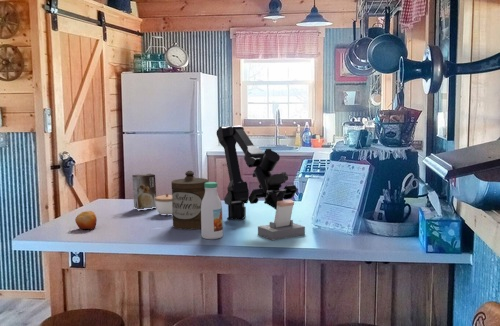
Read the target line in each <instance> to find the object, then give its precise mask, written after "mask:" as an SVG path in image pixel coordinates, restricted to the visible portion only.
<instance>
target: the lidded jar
mask: <svg viewBox="0 0 500 326" xmlns="http://www.w3.org/2000/svg"><path fill="white" fill-rule="evenodd" d="M155 205H156V209H155V210H157V212H158V213H159V214H160V215H161V214H166V215H168V214H172V194H169V193H167V192H166V193H165V194H163V195H156V197H155Z"/></svg>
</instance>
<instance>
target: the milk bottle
mask: <svg viewBox="0 0 500 326" xmlns="http://www.w3.org/2000/svg"><path fill="white" fill-rule="evenodd" d="M204 186H205V195H204V197H203V200H202V203H201V229H200V230H201V238H203V239H206V240H217V239H221V238H223V235H224V230H223V228H224V227H223V226H224V223H223V222H224V221H223V205H222V200H221V199H220V196H219V194H218V182H215V181H208V182H206V183H205V184H204Z"/></svg>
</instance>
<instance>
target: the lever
mask: <svg viewBox="0 0 500 326" xmlns="http://www.w3.org/2000/svg"><path fill="white" fill-rule="evenodd" d="M294 205H295V201H293V200H292V199H283V201H277V208H276V209H275V215H274V221H273V223H275V228H276V227H282V226H288V225H290V220H292V214H293V209H294Z"/></svg>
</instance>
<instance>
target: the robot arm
mask: <svg viewBox="0 0 500 326" xmlns="http://www.w3.org/2000/svg"><path fill="white" fill-rule="evenodd" d="M216 136H217V140H218V143H219V144H220V145H221V146H222V148H223V151H224V155H225V160H226V166H227V171H228V172H227V173H228V178H229V182H228V185H227V193H226V195H225V197H224V198H223V199H224V204H225V205H227V212H228V216H227V217H226V219H227V220H244V219H245V217H247V215H246V209H247V208H246V206H245V204H248V202H249V203H250V204H251V205H254V204H258V202H259V199H263V198H264V202H263V203H264V205H267V206H270V207H271V208H273V209H274V210H276V208H277V201H283V200H292V199H293V197H294V196H295V195H296V193H297V192H298V188H297V186H296V185H295V184H288V185H285V186H284V188H283V189H281V188H282V184H283V183H286V182H287V181H288V180H289V176H288V174H287V172H286V171H285V172H284V171H282V172H281V173H280V172H279V173H277V174H272V171H274V169H275V168H276V166H277V164H278V163H279V161H280V157H281V156H280V155H279V153H278V152H276V151H274V150H272V148H265V150H264V152H263V150H262V149H261V148H258V147H256V146H255V145H254V143H253V142H252V139H250V137H249V136H248V135H247V133H246V132H245V129H244V126H242V125H230V126H229V125H227V126H219V127H218V129H217V130H216ZM236 144H238V146H239V148H240V149H241V151H242V153H243V154H244V157H243V158H244V162H245V164H246V166H247V167H248V168H254V170H253V173H252V178H257V179H256V180H257V181H258V184H259V185H258V188H253V189H252V191H251V193H250V191H249V187H248V182H247V181H244V180H243V179H242V175H241V170H240V163H239V158H238V153H237V148H236Z"/></svg>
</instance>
